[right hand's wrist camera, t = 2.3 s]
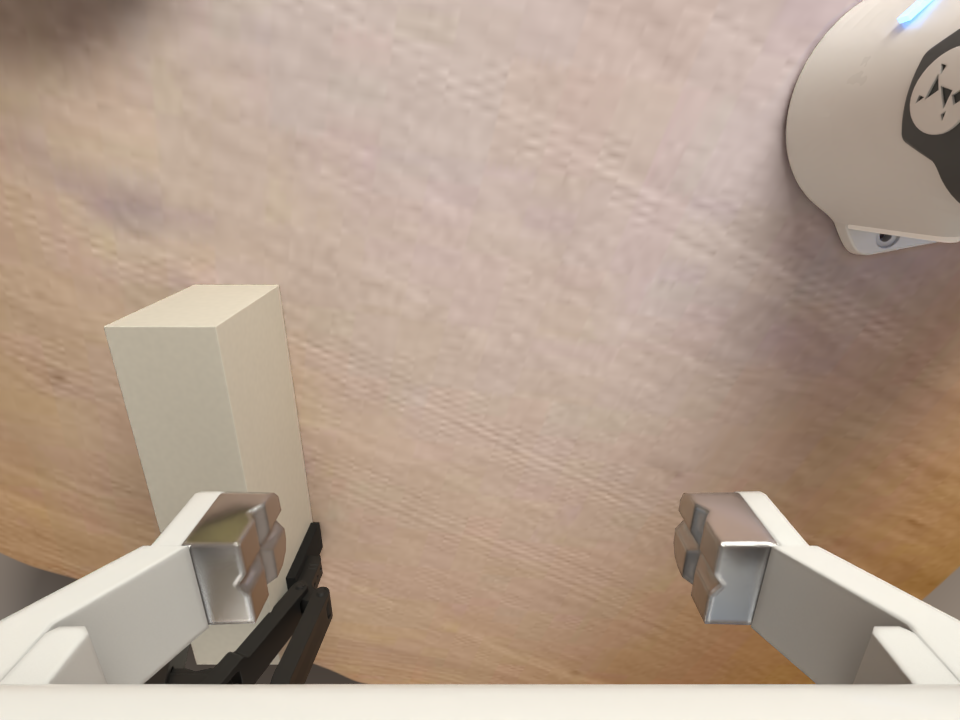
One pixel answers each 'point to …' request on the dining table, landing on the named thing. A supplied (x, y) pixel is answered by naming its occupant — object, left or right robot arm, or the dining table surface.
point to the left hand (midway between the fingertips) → (276, 535)
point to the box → (215, 414)
